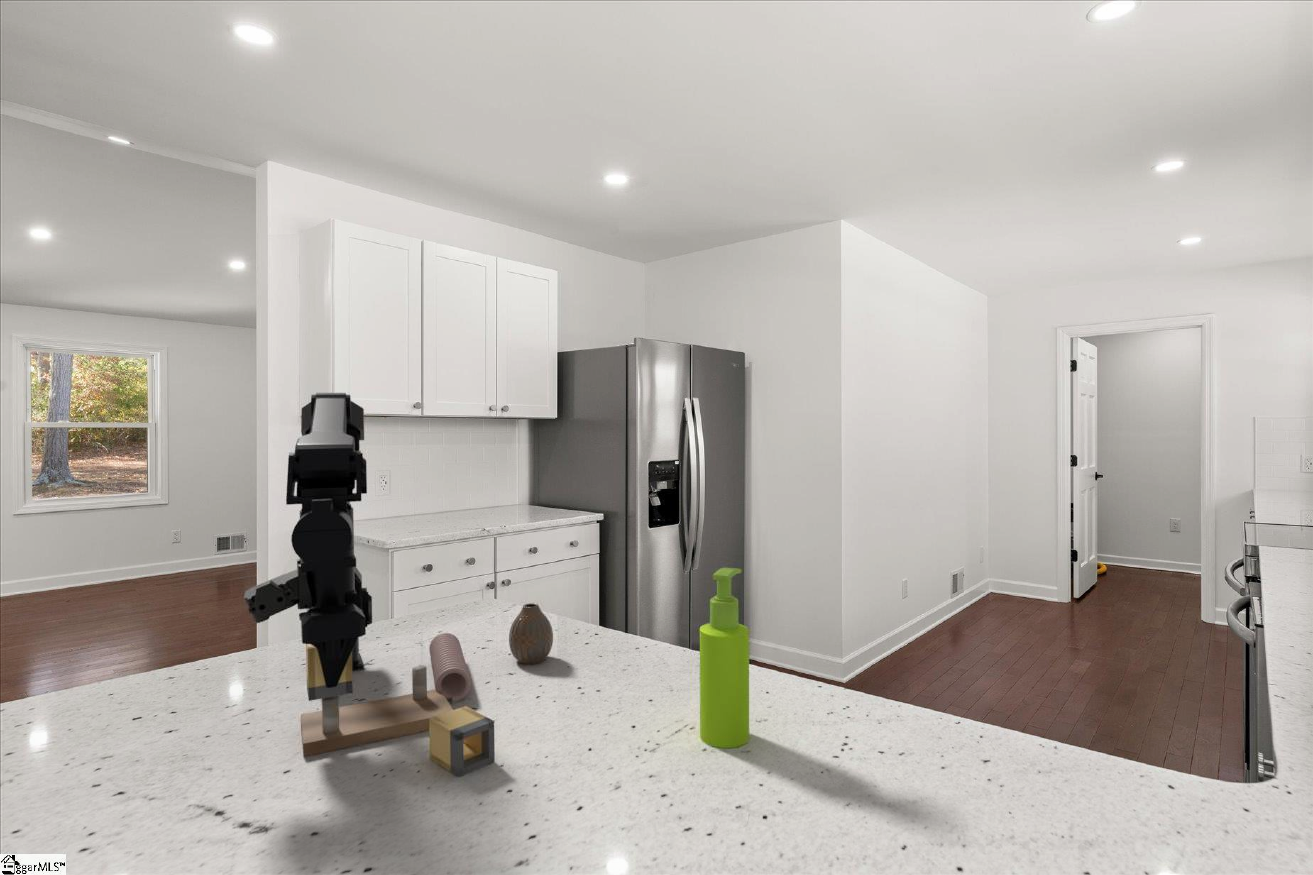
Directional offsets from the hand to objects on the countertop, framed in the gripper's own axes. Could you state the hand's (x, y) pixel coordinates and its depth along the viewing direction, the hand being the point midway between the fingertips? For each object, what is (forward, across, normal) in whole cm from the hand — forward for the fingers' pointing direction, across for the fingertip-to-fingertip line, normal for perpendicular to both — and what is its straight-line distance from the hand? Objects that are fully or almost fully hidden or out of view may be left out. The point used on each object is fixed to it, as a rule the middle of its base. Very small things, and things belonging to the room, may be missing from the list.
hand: (329, 679), depth 83 cm
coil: (+8, -14, +17) cm, 23 cm away
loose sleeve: (+1, 0, 0) cm, 1 cm away
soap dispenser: (+8, +21, +42) cm, 48 cm away
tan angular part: (+5, +15, +14) cm, 21 cm away
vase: (+8, -16, +30) cm, 35 cm away
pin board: (+8, -2, +6) cm, 10 cm away
